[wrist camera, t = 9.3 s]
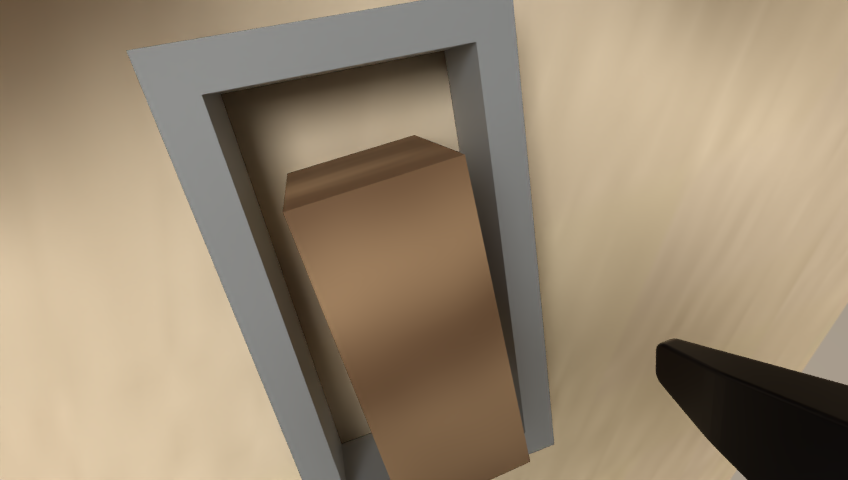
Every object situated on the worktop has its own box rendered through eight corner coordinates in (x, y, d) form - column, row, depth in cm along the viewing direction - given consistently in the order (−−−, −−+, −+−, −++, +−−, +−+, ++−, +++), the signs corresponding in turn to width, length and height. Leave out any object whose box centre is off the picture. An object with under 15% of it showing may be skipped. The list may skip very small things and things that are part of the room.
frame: (472, 4, 18) (511, -15, 14) (521, 399, 25) (554, 444, 22) (161, 58, 15) (126, 50, 12) (321, 474, 23) (325, 535, 20)
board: (475, 373, 21) (530, 461, 16) (379, 413, 20) (406, 518, 15) (414, 135, 17) (464, 154, 12) (287, 173, 16) (282, 212, 11)
